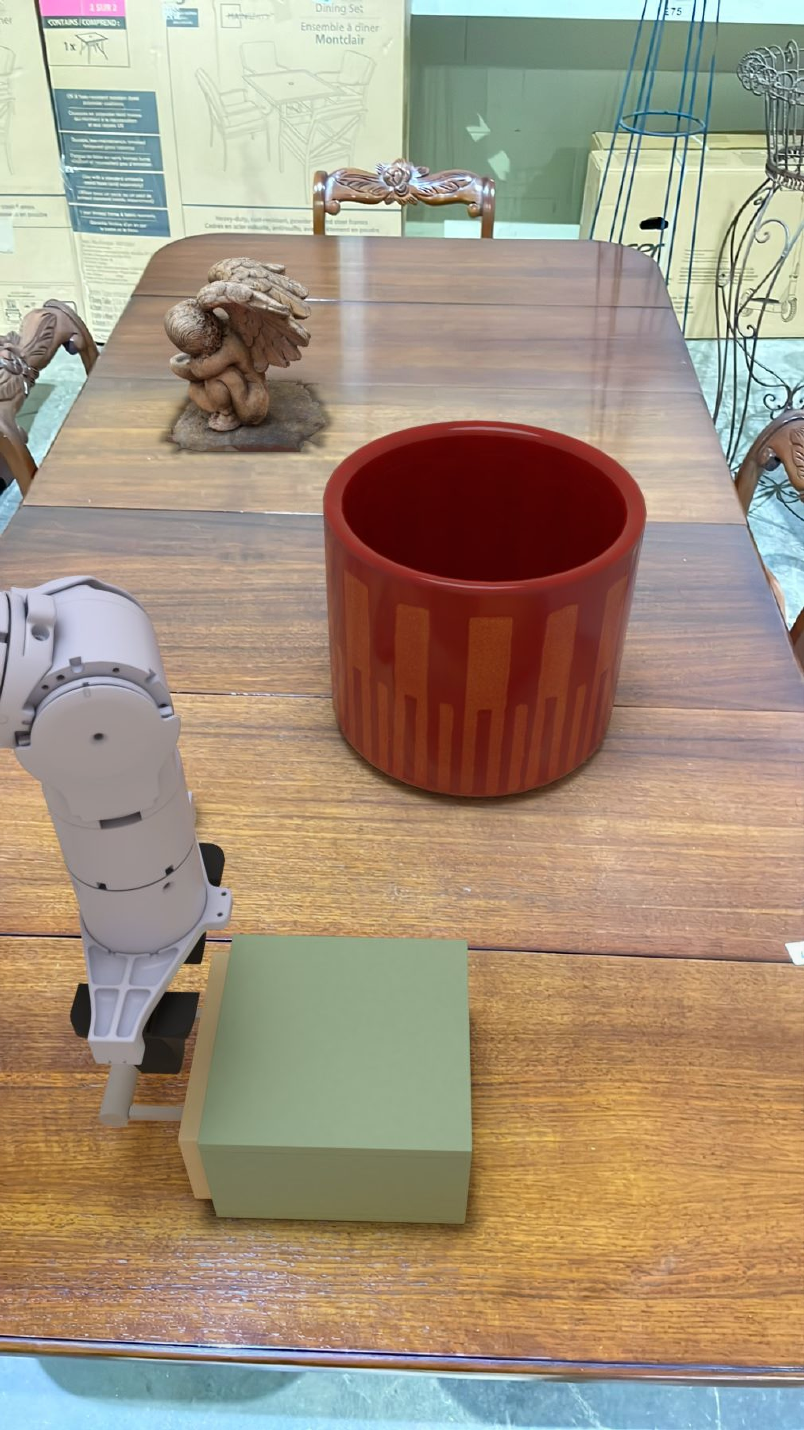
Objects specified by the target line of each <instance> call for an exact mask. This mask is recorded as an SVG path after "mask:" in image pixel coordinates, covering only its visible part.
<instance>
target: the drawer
mask: <svg viewBox="0 0 804 1430" xmlns="http://www.w3.org/2000/svg"><path fill="white" fill-rule="evenodd" d="M229 955H230V951H212V954H211V959H210V964H209V970H208V974H207V980H206V985H205V991H204V997H203V1001H202V1007H201V1008H197V1012H196V1017H195V1022H194V1023H198V1030H197V1034H196V1040H195V1045H194V1049H193V1056H192V1062H191V1068H190V1072H189V1077H188V1081H187V1082H188V1083H187V1088H186V1093H185V1098H184V1104H183V1105H148V1104H147V1105H146V1104H143V1105H142V1104H137V1105H136V1104H133V1103H134V1099H135V1094H136V1090H137V1085H138V1081H139V1076H140V1073H141V1072H140V1071H139V1070H138V1069H137V1068H136V1067H135V1066H134V1065H129V1064H126V1065H114V1064H110V1069H109V1071H108V1076H107V1081H106V1084H105V1089H104V1093H103V1097H102V1101H101V1105H100V1109H99V1113H98V1118H97V1119H98V1122H99V1123H100V1124H101V1125H103V1126H106V1127H108V1128H124V1127H126V1126H127V1125H128V1124H129V1122H130V1121H151V1122H152V1121H154V1122H156V1121H158V1122H180V1126H179V1131H178V1137H177V1141H178V1145H179V1148H180V1152H181V1155H182V1159H183V1162H184V1165H185V1169H186V1173H187V1175H188V1176H187V1177H188V1179H189V1183H190V1186H191V1190H192V1194H193V1198H194V1199H200V1200H201V1199H202V1200H203V1199H204V1200H205V1199H207V1200H212V1197H211V1193H210V1189H209V1186H208V1182H207V1178H206V1174H205V1171H204V1167H203V1163H202V1159H201V1155H200V1152H199V1149H198V1145H197V1142H198V1136H199V1130H200V1124H201V1118H202V1112H203V1107H204V1101H205V1095H206V1089H207V1083H208V1078H209V1072H210V1066H211V1060H212V1054H213V1048H214V1043H215V1037H216V1031H217V1025H218V1019H219V1013H220V1008H221V1002H222V996H223V990H224V984H225V978H226V973H227V967H228V961H229Z"/></svg>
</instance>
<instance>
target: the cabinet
mask: <svg viewBox="0 0 804 1430" xmlns="http://www.w3.org/2000/svg"><path fill="white" fill-rule="evenodd" d="M468 943H469V941H468V939H458V938H457V939H456V938H455V939H454V938H453V939H452V938H419V937H418V938H417V937H416V938H415V937H414V938H412V937H376V936H375V937H373V936H372V937H369V936H329V935H328V936H327V935H326V936H325V935H290V934H289V935H288V934H287V935H285V934H247V933H246V934H245V933H244V934H242V933H233V934H232V939H231V945H230V950H229V952H230V955H229V961H228V967H227V973H226V978H225V984H224V990H223V996H222V1002H221V1008H220V1013H219V1019H218V1025H217V1031H216V1037H215V1043H214V1048H213V1054H212V1060H211V1066H210V1072H209V1078H208V1083H207V1089H206V1095H205V1101H204V1107H203V1112H202V1118H201V1124H200V1130H199V1136H198V1142H197V1145H198V1149H199V1152H200V1155H201V1159H202V1163H203V1167H204V1171H205V1174H206V1178H207V1182H208V1186H209V1189H210V1193H211V1197H212V1199H211V1200H212V1204H213V1208H214V1211H215V1215H216V1217H217V1218H236V1219H237V1218H239V1219H272V1220H273V1219H274V1220H276V1219H277V1220H308V1221H309V1220H313V1221H341V1222H342V1221H343V1222H346V1221H349V1222H379V1223H380V1222H383V1223H385V1222H386V1223H414V1224H415V1223H416V1224H417V1223H419V1224H450V1225H451V1224H454V1225H455V1224H456V1225H464V1224H465V1223H466V1217H467V1216H466V1215H467V1207H468V1197H469V1187H470V1177H471V1167H472V1158H473V1121H472V1117H473V1116H472V1115H473V1114H472V1079H471V1078H472V1076H471V1073H472V1072H471V1038H470V1037H471V1036H470V1035H471V1034H470V1033H471V1032H470V994H469V993H470V991H469V989H470V988H469V987H470V986H469V951H468V950H469V948H468V947H469V945H468Z"/></svg>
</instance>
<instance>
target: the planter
mask: <svg viewBox="0 0 804 1430" xmlns="http://www.w3.org/2000/svg"><path fill="white" fill-rule="evenodd" d="M647 511H648V510H647V504H646V499H645V496H644V494H643V491H642V490H641V487H640V485H639V483H638V482H637V481H636V480H635V478H634V477H633V475H631V473H630V472H629V471H628V470H627V469H626V468H625V467H624V466H623V465H621V463H619V462H618V461H617V460H616V459H614V458H613V457H612V456H610V455H608V453H606V452H604V451H602V450H601V449H599V448H597V447H595V446H593V445H592V444H589V443H587V442H586V441H584V440H581V439H578V438H575V437H573V436H570V435H568V434H566V433H562V432H558V431H555V430H551V429H549V428H544V427H540V426H536V425H535V426H534V425H530V424H525V423H520V422H519V423H518V422H517V423H516V422H510V421H501V420H483V419H482V420H480V419H474V420H470V419H469V420H450V421H441V422H433V423H432V422H431V423H426V424H420V425H416V426H410V427H408V428H405V429H401V430H397V431H394V432H390V433H388V434H386V435H384V436H380V437H378V438H375V439H374V440H371V441H370V442H368V443H366V444H364V445H363V446H360V447H359V448H357V449H355V450H354V451H353V452H352V453H351V454H349V455H348V456H347V457H345V458H344V459H343V460H342V461H341V462H340V464H339V465H337V466H336V467H335V469H334V470H333V472H332V474H330V476H329V478H328V480H327V482H326V484H325V487H324V491H323V495H322V515H323V537H324V538H323V539H324V540H323V541H324V560H325V561H324V562H325V582H326V583H325V585H326V587H325V588H326V605H327V629H328V647H329V649H328V650H329V665H330V667H329V668H330V683H331V685H330V686H331V701H332V710H333V714H334V716H335V720H336V723H337V725H338V727H339V729H340V731H341V733H342V734H343V735H342V736H343V737H344V738H345V739H346V741H347V742H348V743H349V744H350V745H351V747H352V748H353V749H354V750H355V752H356V753H357V754H359V755H360V756H361V758H363V759H364V760H365V761H367V762H368V763H369V764H370V765H371V766H373V767H374V768H376V769H377V770H379V771H381V772H383V773H385V774H386V775H388V776H389V777H390V778H394V779H395V780H398V781H400V782H402V783H405V784H407V785H409V786H412V787H416V788H419V789H422V790H425V791H429V792H433V793H438V794H443V795H450V796H457V797H473V798H483V797H484V798H486V797H502V796H508V795H513V794H518V793H524V792H528V791H531V790H534V789H538V788H541V787H545V786H547V785H549V784H551V783H553V782H556V781H558V780H559V779H562V778H564V777H566V776H567V775H569V774H570V773H572V772H573V771H575V770H576V769H578V768H579V767H580V766H581V765H582V764H584V763H585V762H586V761H587V760H588V759H589V758H590V757H591V756H592V755H594V753H595V751H596V750H597V749H598V748H599V746H600V745H601V743H602V741H603V740H604V738H605V736H606V734H607V731H608V729H609V727H610V724H611V720H612V714H613V708H614V703H615V698H616V693H617V687H618V682H619V678H620V677H619V676H620V671H621V665H622V661H623V655H624V651H625V650H624V648H625V643H626V638H627V632H628V627H629V621H630V616H631V609H632V605H633V600H634V593H635V589H636V588H635V587H636V581H637V576H638V569H639V565H640V559H641V552H642V546H643V540H644V534H645V529H646V522H647V516H648V512H647Z"/></svg>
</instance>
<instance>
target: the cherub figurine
mask: <svg viewBox="0 0 804 1430" xmlns="http://www.w3.org/2000/svg"><path fill="white" fill-rule="evenodd" d="M286 268H287V267H285V266H284V265H283V264H280V263H279V264H278V263H264V262H260V261H257V260H254V259H252V258H251V257H235V258H225V259H223V260H221V261H218V262H216V263H214V264H213V265H212V266H211V267H210V268H209V270H208V272H207V281H208V284H206V285H205V286H204V287H201V288H200V290H199V292H198V293H197V295H196V299H193V298H189V299H186V300H182V301H180V302H179V303H177V304H175V305H174V306H172V307H170V308H169V309H168V310H167V311H166V313H165V316H164V319H163V326H164V327H163V328H164V331H165V334H166V335H167V337H168V339H169V341H170V342H171V343H172V344H173V345H174V346H175V347H176V348H177V349H178V350H179V351H180V352H181V353H178V354H175V355H174V356H172V357H171V358H170V359H169V368H170V370H171V371H172V372H173V374H175V375H176V376H177V377H179V378H180V379H183V380H186V381H189V386H188V391H187V392H188V397H189V398H190V399H191V401H190V402H189V403H188V404H187V405H186V406H185V407H184V412H183V413H182V415H180V417H179V419H177V422H176V423H175V425H174V428H170V431H168V432H167V433H168V434H172V435H170V436H166V437H165V441H167V442H171V443H173V444H174V443H175V444H178V448H177V451H180V450H182V449H187V450H192V452H196V451H198V452H301V449H302V447H303V446H304V444H305V442H304V441H309V442H311V443H314V444H316V445H319V443H320V436H317V437H312V435H314V434H315V433H317V431H319V430H321V429H323V427H324V426H325V425H326V420H325V417H324V415H323V413H322V412H321V411H319V406H320V404H319V403H318V402H317V401H313V399H312V396H311V393H310V392H309V390H308V389H306V388H305V387H306V386H308V385H310V384H311V382H310V383H309V382H308V383H306V384H298V382H293V381H292V382H291V381H280V380H279V381H277V380H274V381H273V380H270V379H268V380H267V376H266V372H267V371H268V369H269V368H270V366H273V367H278V368H282V369H287V368H289V367H291V362H297V361H301V359H302V358H303V355H302V352H301V351H300V349H299V348H298V347H302V348H308V347H309V345H310V340H311V339H312V335H311V332H309V331H308V330H307V329H306V328H305V326H303V325H302V324H301V323H300V322H299V321H305V320H306V319H308V318H309V317H311V315H312V309H311V306H310V305H309V304H308V303H307V302H306V301H305V300H306V298H308V297H309V295H310V292H309V289H308V288H307V287H305V286H304V285H303V284H302V283H300V282H299V281H296V280H294V279H290V277H288V276H286ZM215 309H222V310H223V311H224V312H220V311H219V312H215ZM298 320H299V321H298Z"/></svg>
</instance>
